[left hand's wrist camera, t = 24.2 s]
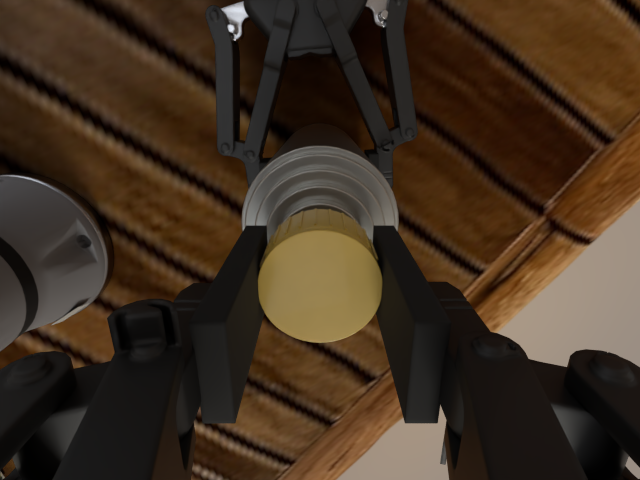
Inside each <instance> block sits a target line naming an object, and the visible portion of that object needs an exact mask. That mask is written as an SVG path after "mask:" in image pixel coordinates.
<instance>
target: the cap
mask: <svg viewBox="0 0 640 480" xmlns="http://www.w3.org/2000/svg"><path fill="white" fill-rule="evenodd" d="M377 260H379V259H378V256H377V254H376V251H375V248H374V246H373V243H372V240H371V239H369V238H368V236H367V233H366V231H365V229H364V228H363V229H362V227H361V226H360V225H359V224H358V223H357V222H356V220H355V219H354V220H353V219H351V218H350V217H348V216H346V215H344V213H339V212H337V211H332V210H331V209H329V210H326V209H317V208H315V209H314V210H307V211H301V213H298V214H296V215H294V216H292V217H291V216H290V217H289V218H288V219H287V220H286V221H285V222H284V223H282V224H281V225H279V226H278V229H277V230H276V232H275V233H274V234H273V235H271V237H270V240H269V242H268V245H267V247H266V249H265V252H264V255H263V258H262V260H261V263H260V266H259V267H260V271H259V275H258V292H259V301H260V304H261V306H262V309H263V310H264V312H265V314H266V315H267V317H268V318H269V319H270V321H271V322H272V323H273V324H274V325H275V326H276V327H278V328H279V329H280V330H281V331H283V332H285V333H286V334H288V335H290V336H292V337H294V338H297V339H300V340H304V341H309V342H332V341H336V340H340V339H343V338H346V337H348V336H350V335H352V334H354V333H356V332H357V331H359V330H360V329H362V328H363V327H364V326H365V325H366V324H367V323H368V322H369V321H370V320H371V319H372V317H373V316H374V314H375V313H376V311H377V309H378V307H379V305H380V302H381V295H382V274H381V270H380V267H379V264H378V261H377Z"/></svg>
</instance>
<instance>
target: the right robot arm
mask: <svg viewBox="0 0 640 480" xmlns="http://www.w3.org/2000/svg"><path fill="white" fill-rule="evenodd" d="M407 3H408V0H243V1H242V2H239V3H236V4H233V5H230V6H227V7H224V8H221V9H220V8H219V7H218V6H215V5H212V6H210V7H208V8H207V10H206V14H205V15H206V20H207V23H208V26H209V29H210V31H211V34H212V37H213V40H214V43H215V63H216V111H217V148H218V151H219V153H220V154H222V155H224V156H232V157H236V158H239V159H241V160H242V161H243V162H244V164H245V167H246V174H247V181H248V188H250V186H251V184H252V182H253V181H254V179H255V178H256V176H257V175H258V174H259V173H260V171H261V170H262V169H263V168H264V167H265V166H266V164H267V163H268V162H269V161H270V160H271V159H272V158H263V156H262V155H263V153H264V152H263V150H264V146H265V142H266V138H267V135H268V131H269V127H270V123H271V120H272V116H273V112H274V108H275V104H276V101H277V97H278V93H279V89H280V86H281V82H282V78H283V75H284V72H285V69H286V66H287V62H288V59H290V60H300V59H303V58H305V57H308V56H316V57H321V58H322V57H331V56H332V55H334V57H335V60H336V62H337V64H338V66H339V68H340V70H341V72H342V74H343V76H344V78H345V81H346V83H347V85H348V87H349V90H350V92H351V94H352V96H353V99H354V101H355V103H356V105H357V107H358V110H359V112H360V114H361V116H362V119H363V121H364V123H365V125H366V128H367V130H368V132H369V134H370V136H371V139H372V141H373V143H374V149H372V150H365V155H366V156H367V157H368V158H369V160H370V161H371V162H372V163H373V164H374V165H375V167H376V168H377V169H378V170H379V171H380V172H381V174H382V175H383V176H384V178H385V179H386V180H387V182H388V183H389V185H390V187H391V189H392V186H393V157H392V155H393V151H394V149H395V148H396V147H397V146H398V145H400V144H402V143H404V142H406V141H411V140H413V139H414V138H415V137H416V136H417V132H418V130H417V123H416V116H415V109H414V102H413V94H412V87H411V80H410V73H409V66H408V59H407V52H406V45H405V37H404V30H403V27H404V21H405V15H406V9H407ZM364 9H365V10H368V11H369V12H370V13H371V15H372V21H373V24H374V26H375V27H376V28H378V29H381V45H382V52H383V58H384V64H385V70H386V77H387V83H388V89H389V95H390V102H391V108H392V114H393V120H394V126H395V127H393V128H391V129H388V127H387V125H386V123H385V120H384V118H383V116H382V113H381V111H380V109H379V106H378V104H377V102H376V99H375V97H374V95H373V92H372V90H371V88H370V85H369V83H368V81H367V78H366V76H365V74H364V71H363V69H362V67H361V64H360V62H359V60H358V56H357V53H356V50H355V48H354V46H353V43H352V41H351V39H350V36H349V35H350V33H351V31H352V29H353V28H354V26H355V24H356V22H357V21H358V19H359V17H360V15H361V13H362V12H363V10H364ZM248 20H252V22H253V23H254V24H255V25H256V27H257V28H258V29H259V30H260V32H261V33H262V34H263V35H264V37H265V38H266V39H267V40H268V46H267V50H266V55H265V59H264V67H263V72H262V76H261V80H260V84H259V88H258V92H257V96H256V100H255V104H254V108H253V112H252V116H251V120H250V124H249V128H248V132H247V136H246V140H245V141H243V140H240V55H239V46H238V41H240V40H242V39H243V37H244V25H245V23H246V22H247V21H248Z"/></svg>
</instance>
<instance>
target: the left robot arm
mask: <svg viewBox="0 0 640 480" xmlns="http://www.w3.org/2000/svg"><path fill="white" fill-rule="evenodd" d="M267 245H268V240H267V225H246V227H245V229H244V230H243V232H242V234H241V235H240V237H239V239H238V240H237V242H236V244H235V245H234V247H233V249H232V251H231V252H230V254H229V256H228V257H227V259H226V261H225V262H224V264H223V266H222V267H221V269H220V271H219V272H218V274H217V276H216V277H215V279H214V281H213V282H212V283H193V284H192V285H190V286H188V287H187V288H185V289H184V290H182V291H181V292H180V293H179V295H178V296H177V297H176V299H175V300H174V303H172V302H171V301H168V300H164V299H147V300H141V301H136V302H133V303H130V304H127V305H124V306H122V307H121V308H119V309H117V310H115V311H114V312H113V313H112V314H111V315H110V316H109V317H108V318H107V320H108V324H109V328H110V333H111V337H112V342H113V346H114V351H115V354H114V356H113V358H112V360H111V361H109V362H105V363H101V364H96V365H91V366H86V367H81V368H76V369H74V368H73V365H72V361H71V358H70V357H69V356H68V355H67V354H66V353H62V352H57V351H51V352H40V353H35V354H33V355H32V354H31V355H28V356H25V357H23V358H21V359H19V360H17V361H14V362H12V363H10V364H9V365H7V366H6V367H4V368H2V369H1V370H0V471H1V469H2V468H3V467H4V466H5V465H6V464H7V463H8V462H9V461H10V460H11V458H13V461H14V464H15V466H16V468H15V469H14V470H13V471H12V472H11V473H10V475H8V476H7V477H6V478H5V479H4V480H191V474H192V466H193V458H194V450H195V442H196V435H195V428H194V420H195V417H196V415H197V412H198V410H199V407H201V415H202V422H203V423H235V422H236V418H237V414H238V411H239V407H240V403H241V399H242V395H243V392H244V388H245V384H246V380H247V376H248V373H249V369H250V365H251V361H252V357H253V354H254V350H255V346H256V342H257V339H258V335H259V331H260V327H261V323H262V320H263V316H264V310H263V309H262V306H261V304H260V301H259V292H258V275H259V271H260V267H259V266H260V263H261V260H262V258H263V255H264V252H265V249H266V247H267ZM373 246H374V248H375V251H376V254H377V256H378V259H379V260H377V261H378V264H379V267H380V270H381V274H382V295H381V302H380V305H379V307H378V309H377V311H376V315H377V319H378V322H379V326H380V330H381V334H382V338H383V341H384V345H385V349H386V353H387V357H388V360H389V364H390V368H391V372H392V376H393V379H394V383H395V387H396V391H397V394H398V398H399V402H400V406H401V410H402V413H403V417H404V421H405V423H438V416H439V409H440V404H441V407H442V410H443V412H444V415H445V417H446V420H447V421H446V428H445V435H444V442H443V448H442V455H441V463H440V464H444V465H445V464H446V459H447V465H448V473H449V480H640V479H637V478H636V477H635V476H634V475H633V474H632V473H631V472H630V471H629V470H628V469H627V467H626V466H625V465H626V462H627V459H628V457H629V456H630V457H631V459H632V460H633V461H634V462H635V463H636V464H637V465H638V466H639V467H640V367H638V366H637V365H635V364H633V363H632V362H630V361H628V360H626V359H624V358H621V357H619V356H618V355H616V354H612V353H607V352H605V351H599V350H587V349H586V350H580V351H576V352H574V353H573V354H572V355H571V356H570V359H569V362H568V366H567V367H563V366H558V365H553V364H548V363H543V362H538V361H534V360H530V359H528V357H527V355H526V353H525V352H524V350H523V349H522V348H521V347H520V345H519V344H517V343H516V342H514V341H513V340H511V339H510V338H507V337H505V336H502V335H500V334H498V333H493V332H490V330H489V329H488V328H487V326H486V325H485V324H484V322H483V321H482V320H481V318H480V317H479V316H478V314H477V313H476V312H475V310H474V309H472V306H471V305H470V303H469V302H468V301H467V299H466V298H465V297H464V295H463V294H462V293H461V291H460V290H459V289H457V288H456V287H454V286H452V285H451V284H449V283H448V282H427V280H426V279H425V277H424V275H423V274H422V272H421V270H420V269H419V267H418V265H417V263H416V262H415V260H414V258H413V257H412V255H411V253H410V252H409V250H408V248H407V247H406V245H405V243H404V242H403V240H402V238H401V237H400V235H399V233H398V232H397V230H396V228H395V227H394V225H373ZM113 265H114V254H113V247H112V243H111V239H110V237H109V234H108V231H107V229H106V227H105V225H104V224H103V222H102V220H101V219H100V217H99V216H98V215H97V213H96V212H95V211H94V209H93V208H92V207H91V206H90V205H89V204H88V203H87V202H86V201H85V200H84V199H83V198H82V197H80V196H79V195H78V194H77V193H75V192H74V191H72V190H71V189H70V188H68V187H66V186H64V185H63V184H61V183H59V182H57V181H55V180H52V179H49V178H47V177H43V176H40V175H36V174H31V173H19V172H14V173H5V174H0V351H1V350H3V349H4V348H5V347H6V346H8V345H9V344H10V343H11V342H12V341H14V340H15V339H16V338H18V337H19V336H20V335H21V334H23V333H24V332H26V331H29V330H32V329H35V328H38V327H41V326H43V325H46V324H49V323H52V322H54V321H56V322H55V323H53V324H56V323H59V322H62V321H64V320H65V319H67V318H68V317H70V316H71V315H74V314H76V313H78V312H80V311H81V310H83V309H84V308H86V307H87V306H88V305H89V304H91V303H92V302H93V301H94V300H95V299H96V298H97V297H99V296H100V294H101V293H102V292H103V291H104V290H105V288H106V287H107V285H108V283H109V281H110V278H111V275H112V272H113ZM57 320H58V321H57ZM53 324H52V325H53ZM50 326H51V325H50ZM0 480H1V479H0Z"/></svg>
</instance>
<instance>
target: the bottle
mask: <svg viewBox="0 0 640 480" xmlns="http://www.w3.org/2000/svg"><path fill="white" fill-rule="evenodd" d="M315 208H317V209H326V210H329V209H331V210H332V211H337V212H339V213H344V215H346V216H348V217H350V218H351V219H353V220H354V219H355V220H356V222H357V223H358V224H359V225H360V226H361V227H362V229H363V228H364V229H365V231H366V233H367V236H368V238H369V239H371V240H372V243H373V225H394V227H395V228H396V230H397V232H398V224H399V218H398V208H397V203H396V200H395V197H394V194H393V191H392V189H391V187H390V185H389V183H388V182H387V180H386V179H385V178H384V176H383V175H382V174H381V172H380V171H379V170H378V169H377V168H376V167H375V165H374V164H373V163H372V162H371V161H370V160H369V158H368V157H367V156H366V155H365V154H364V153H363V151H362V150H361V149H360V148H359V147H358V146H357V145H356V143H355V142H354V141H353V140H352V139H351V138H350V137H349V135H348V134H347V133H345V132H344V131H343V130H341V129H340V128H338V127H336V126H333V125H330V124H324V123H316V124H310V125H307V126H304V127H302V128H300V129H299V130H297V131H296V132H295V133H293V134H292V135H291V136H290V138H289V139H288V140H287V141H286V142H285V143H284V145H283V146H282V147H281V148H280V149H279V150H278V152H277V153H276V154H275V155H274V156H273V157H272V159H271V160H270V161H269V162H268V163H267V164H266V166H265V167H264V168H263V169H262V170H261V171H260V173H259V174H258V175H257V176H256V178H255V179H254V181H253V182H252V184H251V186H250V188H249V190H248V192H247V194H246V197H245V200H244V204H243V209H242V219H241V221H242V232H243V230H244V229H245V227H246V225H267V240H268V242H269V240H270V237H271V235H273V234H274V233H275V232H276V230H277V229H278V226H279V225H281V224H282V223H284V222H285V221H286V220H287V219H288V218H289V217H290V216H291V217H292V216H294V215H296V214H298V213H301V211H307V210H314V209H315Z"/></svg>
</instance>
